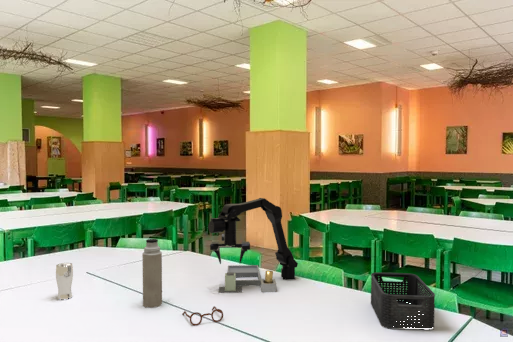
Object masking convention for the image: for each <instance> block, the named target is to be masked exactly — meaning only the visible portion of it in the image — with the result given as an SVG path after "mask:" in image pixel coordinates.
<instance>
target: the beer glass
mask: <svg viewBox="0 0 513 342" xmlns="http://www.w3.org/2000/svg"><path fill="white" fill-rule="evenodd" d="M73 267H74V266H73V263H72V262H62V263H59V264H56V268H55V279H56V284H57V298H58V299H67V300H69V299H68V298H70V299H71V297H72V298H73V292H72V286H73V280H74V279H73V278H74V269H73ZM57 298H56V299H57ZM58 299H57V300H58Z"/></svg>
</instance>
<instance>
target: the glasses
mask: <svg viewBox="0 0 513 342" xmlns="http://www.w3.org/2000/svg"><path fill="white" fill-rule="evenodd" d="M215 312H218V313H219V314H221V317H220V318H219V319H218V320H216V319H214V313H215ZM181 315H182V316H184V315H185V316H186V317H187V318H188V319H189V323H190V324H191V325H192V326H195V327H197V326H199V325H200V324H201V323H202V321H203V317H205V316H210V317H211V319H212V321H213V322H215V323H219V322H221V321H222V320H223V318H224V312H223V310H222V309H219V308H217V307H216V306H215V305H214V306H213V307H212V309H211V313H209V312H207V313H203V314H202V313H200V312H193V313H191V315H189V314H188V313H187V311H186V310H184V311H183V312H182V314H181ZM195 315H199V317H200V320H199V322H197V323H193V321H192V318H193V316H195Z"/></svg>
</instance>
